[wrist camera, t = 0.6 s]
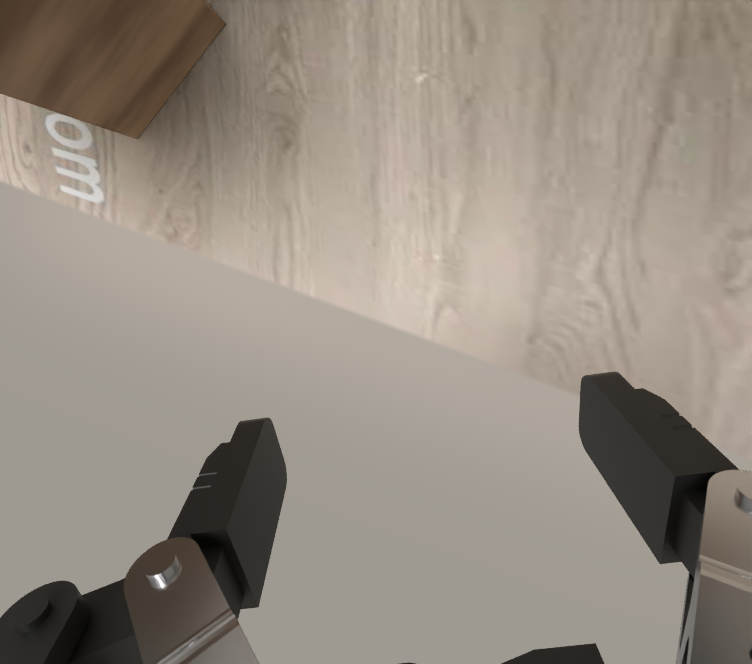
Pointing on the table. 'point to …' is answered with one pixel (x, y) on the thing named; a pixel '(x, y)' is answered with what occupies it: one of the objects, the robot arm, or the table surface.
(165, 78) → the wooden block
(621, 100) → the table surface
